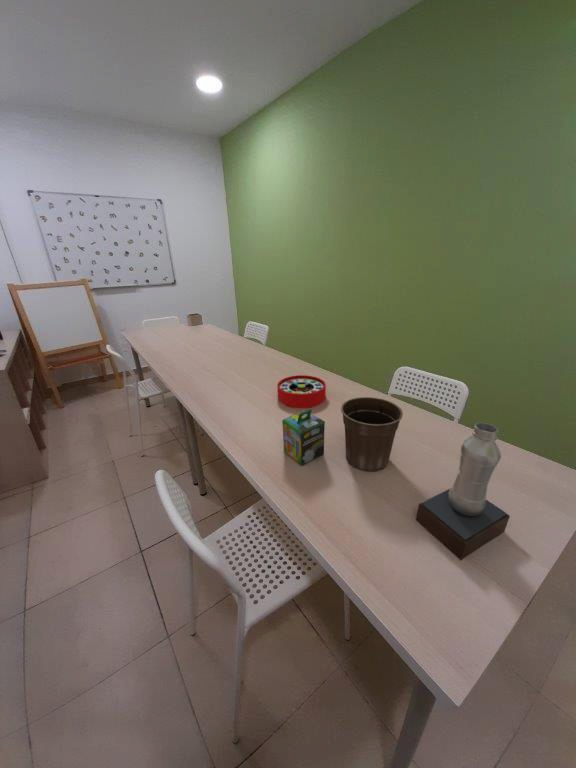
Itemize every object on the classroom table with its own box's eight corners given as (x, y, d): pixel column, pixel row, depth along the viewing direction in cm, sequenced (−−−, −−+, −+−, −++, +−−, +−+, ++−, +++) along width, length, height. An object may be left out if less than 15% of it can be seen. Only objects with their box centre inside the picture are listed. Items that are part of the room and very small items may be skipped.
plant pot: (341, 439, 97) (343, 394, 90) (394, 445, 93) (400, 398, 87) (335, 471, 83) (338, 421, 76) (397, 480, 79) (405, 428, 72)
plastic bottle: (455, 492, 68) (475, 414, 60) (488, 510, 63) (514, 429, 55) (440, 505, 64) (459, 425, 56) (473, 526, 59) (499, 441, 51)
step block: (457, 497, 73) (461, 481, 71) (504, 531, 64) (510, 514, 62) (415, 519, 67) (418, 502, 65) (460, 560, 58) (466, 542, 56)
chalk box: (305, 440, 97) (305, 399, 91) (325, 454, 90) (326, 410, 84) (282, 451, 92) (280, 408, 86) (301, 466, 85) (300, 421, 79)
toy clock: (301, 399, 111) (267, 384, 124) (302, 413, 113) (268, 397, 127) (335, 383, 123) (301, 371, 137) (335, 396, 126) (301, 383, 139)
